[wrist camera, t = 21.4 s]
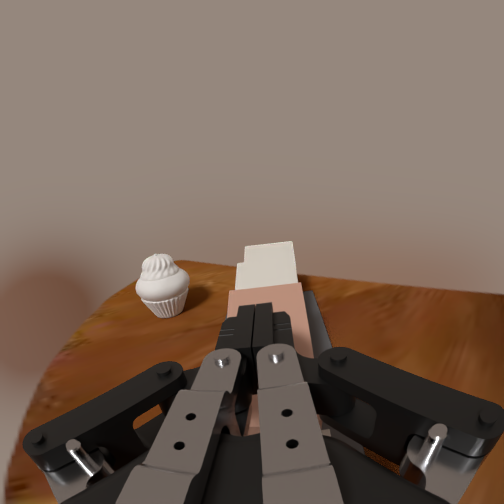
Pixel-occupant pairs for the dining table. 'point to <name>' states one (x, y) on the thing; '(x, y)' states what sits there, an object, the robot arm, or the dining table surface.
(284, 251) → the ivory domino
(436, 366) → the dining table surface
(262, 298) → the terracotta domino
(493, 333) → the dining table surface
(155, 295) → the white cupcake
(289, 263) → the ivory domino
